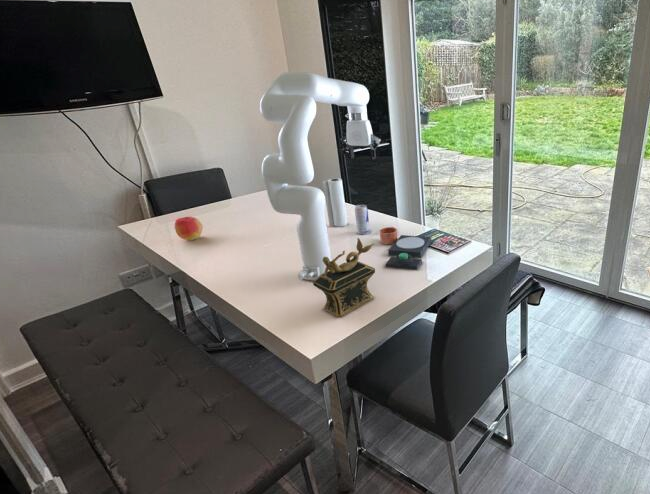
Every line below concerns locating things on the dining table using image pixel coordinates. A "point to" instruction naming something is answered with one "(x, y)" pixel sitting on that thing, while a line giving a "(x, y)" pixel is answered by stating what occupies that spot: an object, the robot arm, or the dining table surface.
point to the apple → (188, 228)
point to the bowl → (388, 235)
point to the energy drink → (362, 219)
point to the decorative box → (345, 282)
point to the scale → (410, 246)
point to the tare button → (403, 256)
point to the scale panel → (404, 263)
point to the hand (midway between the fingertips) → (362, 158)
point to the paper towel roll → (335, 202)
